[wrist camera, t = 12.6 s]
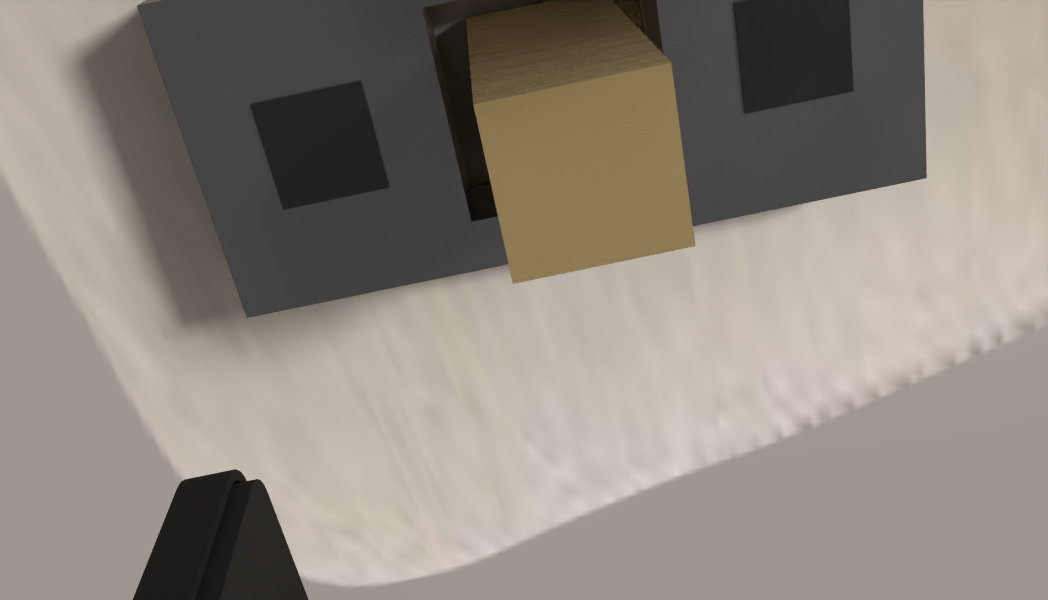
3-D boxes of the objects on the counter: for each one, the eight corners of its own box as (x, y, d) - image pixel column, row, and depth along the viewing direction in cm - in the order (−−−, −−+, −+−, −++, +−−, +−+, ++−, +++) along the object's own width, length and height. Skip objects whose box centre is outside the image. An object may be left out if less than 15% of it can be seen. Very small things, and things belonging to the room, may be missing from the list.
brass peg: (465, 18, 29) (473, 104, 20) (601, -11, 29) (671, 62, 20) (494, 149, 31) (512, 283, 22) (623, 122, 31) (695, 245, 22)
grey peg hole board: (167, -12, 28) (135, 6, 25) (873, -163, 28) (921, -162, 25) (264, 276, 32) (246, 318, 29) (885, 147, 31) (927, 179, 29)
